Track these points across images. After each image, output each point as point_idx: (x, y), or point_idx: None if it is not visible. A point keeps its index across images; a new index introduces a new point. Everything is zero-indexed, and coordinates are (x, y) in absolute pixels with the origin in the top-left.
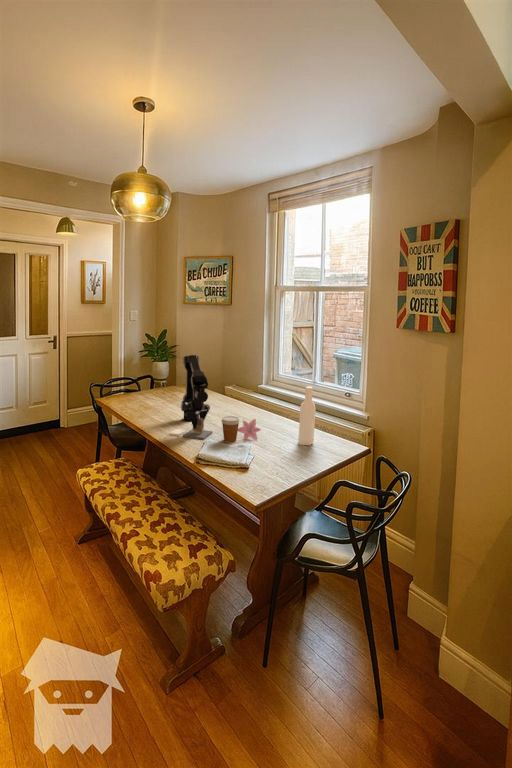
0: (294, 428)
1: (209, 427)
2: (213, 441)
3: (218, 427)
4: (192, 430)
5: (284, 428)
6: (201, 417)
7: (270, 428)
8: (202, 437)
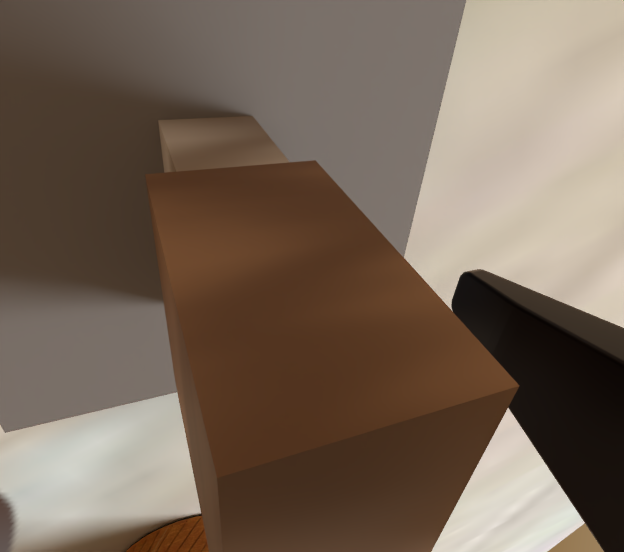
0: (526, 548)
1: (604, 169)
2: (39, 502)
3: (588, 263)
4: (348, 3)
5: (528, 532)
6: (600, 411)
7: (530, 505)
8: (6, 407)
